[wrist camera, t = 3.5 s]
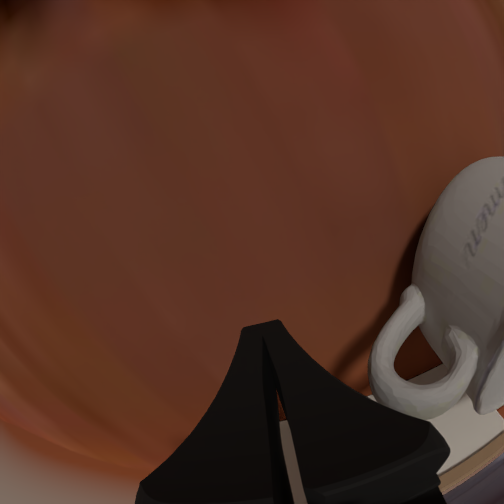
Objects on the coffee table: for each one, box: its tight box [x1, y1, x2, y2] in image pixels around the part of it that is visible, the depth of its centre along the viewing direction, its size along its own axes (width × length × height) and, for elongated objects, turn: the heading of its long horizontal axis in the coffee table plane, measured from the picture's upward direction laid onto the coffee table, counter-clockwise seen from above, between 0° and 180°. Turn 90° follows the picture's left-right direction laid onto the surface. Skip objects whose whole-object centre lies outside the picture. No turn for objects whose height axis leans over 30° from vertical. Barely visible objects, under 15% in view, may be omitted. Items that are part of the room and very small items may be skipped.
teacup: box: [368, 157, 504, 420], centre depth 9 cm, size 14×11×8 cm
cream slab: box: [280, 364, 504, 504], centre depth 12 cm, size 16×2×9 cm, turn 102°
